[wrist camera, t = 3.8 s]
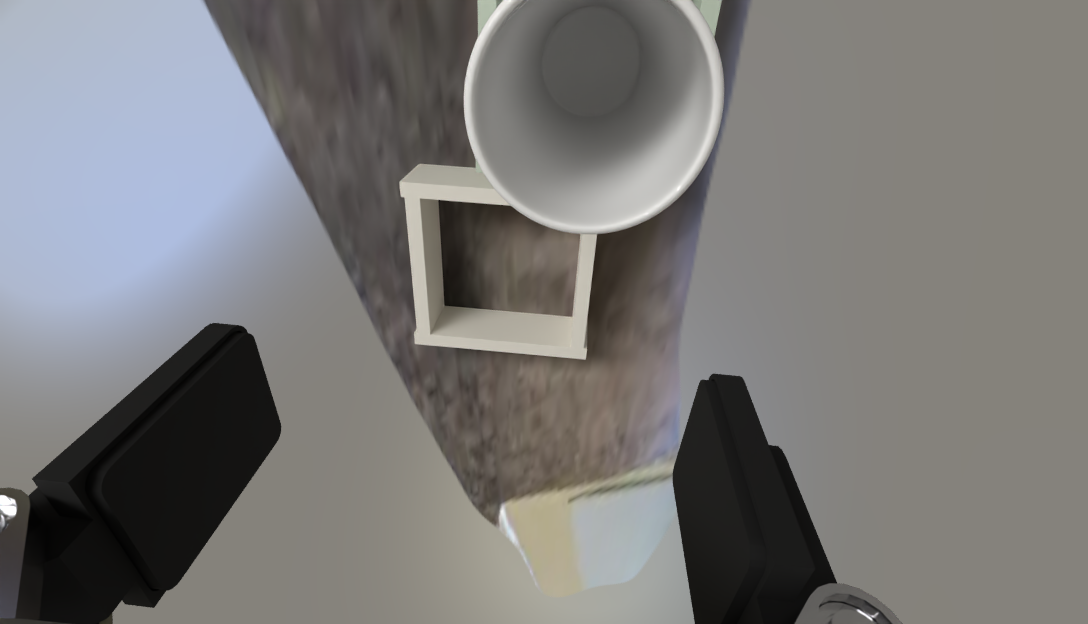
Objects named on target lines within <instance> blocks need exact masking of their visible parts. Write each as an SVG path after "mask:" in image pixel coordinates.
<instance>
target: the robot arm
mask: <svg viewBox="0 0 1088 624" xmlns="http://www.w3.org/2000/svg"><path fill="white" fill-rule="evenodd" d="M280 433H281V423H280V420H279V416H278V413H277V410H276V407H275V403H274V400H273V397H272V394H271V391H270V387H269V384H268V381H267V378H266V374H265V371H264V368H263V365H262V361H261V358H260V355H259V352H258V349H257V345H256V342H255V339H254V337H253V336H252V335H251V334H249V333H248V332H247V330H246V329H245V328H244V327H242V326H239V325H228V324H219V323H212V324H209V325H208V326H206V327H205V328H204V329H203V330H201V331H200V332H199V333H198V334H197V335H196V336H195V337H194V338H192V339H191V340H190V341H189V342H188V343H187V344H185V345H184V346H183V347H182V348H181V349H180V350H179V351H177V352H176V353H175V354H174V355H173V356H172V357H171V358H169V359H168V360H167V361H166V362H165V363H164V364H163V365H161V366H160V367H159V368H158V369H157V370H156V371H155V372H153V373H152V374H151V375H150V376H149V377H148V378H147V379H145V380H144V381H143V382H142V383H141V384H140V385H139V386H137V387H136V388H135V389H134V390H133V391H132V392H131V393H130V394H128V395H127V396H126V397H125V398H124V399H123V400H121V401H120V402H119V403H118V404H117V405H116V406H115V407H113V408H112V409H111V410H110V411H109V412H108V413H107V414H105V415H104V416H103V417H102V418H101V419H100V420H99V421H97V423H95V424H94V425H93V426H92V427H91V428H89V429H88V430H87V431H86V432H85V433H84V434H83V435H81V436H80V437H79V438H78V439H77V440H76V441H75V442H73V443H72V444H71V445H70V446H69V447H68V448H67V449H65V450H64V451H63V452H62V453H61V454H60V455H59V456H57V457H56V458H55V459H54V460H53V461H52V462H51V463H49V464H48V465H47V466H46V467H45V468H44V469H43V470H41V471H40V472H39V473H38V474H37V475H36V476H35V477H33V479H32V480H33V481H34V482H35V484H36V485H37V486H38V488H37V489H36V490H34V491H33V492H32V493H31V494H30V495H29V496H28V495H27V494H26V493H25V492H23V491H22V490H19V489H15V488H0V624H113V618H112V617H113V616H112V612H113V611H114V610H115V608H116V607H117V606H118V604H119V603H120V602H121V600H123V602H124V603H125V604H128V605H136V606H145V607H152V608H154V607H155V606H156V604H157V603H158V601H159V600H160V599H161V597H162V596H163V594H164V593H165V592H166V590H170V589H172V588H173V587H175V586H176V585H177V584H178V583H179V581H180V580H181V579H182V577H183V576H184V574H185V573H186V572H187V570H188V569H189V567H190V566H191V564H192V563H193V561H194V560H195V559H196V557H197V556H198V554H199V553H200V551H201V550H202V549H203V547H204V546H205V544H206V543H207V542H208V540H209V539H210V537H211V536H212V534H213V533H214V531H215V530H216V529H217V527H218V526H219V524H220V523H221V521H222V520H223V518H224V517H225V516H226V514H227V513H228V511H229V510H230V508H231V507H232V506H233V504H234V503H235V501H236V500H237V498H238V497H239V495H240V494H241V493H242V491H243V490H244V488H245V487H246V486H247V484H248V483H249V481H250V480H251V478H252V477H253V476H254V474H255V473H256V471H257V470H258V468H259V467H260V466H261V464H262V462H263V461H264V460H265V458H266V457H267V456H268V454H269V453H270V451H271V450H272V448H273V447H274V445H275V444H276V443H277V441H278V439H279V437H280ZM673 487H674V494H675V500H676V506H677V513H678V519H679V525H680V531H681V538H682V544H683V551H684V557H685V563H686V570H687V576H688V582H689V589H690V595H691V602H692V607H693V614H694V620H695V624H902V622H901V621H900V620H899V619H898V618H897V617H896V615H895V614H894V613H893V612H892V611H891V610H890V609H889V608H887V607H886V606H885V605H884V604H883V603H882V602H880V601H879V600H878V599H877V598H875V597H873V596H872V595H869V594H868V593H866V592H864V591H863V590H861V589H859V588H855V587H852V586H849V585H846V584H837V582H836V579H835V577H834V574H833V572H832V570H831V567H830V564H829V562H828V560H827V557H826V555H825V553H824V550H823V547H822V545H821V542H820V540H819V538H818V535H817V532H816V530H815V527H814V525H813V523H812V520H811V518H810V515H809V513H808V510H807V508H806V505H805V503H804V501H803V498H802V495H801V493H800V491H799V488H798V486H797V483H796V481H795V478H794V476H793V473H792V471H791V469H790V466H789V463H788V461H787V459H786V457H785V455H784V453H783V451H782V450H781V449H780V448H779V447H778V446H772V445H768V442H767V440H766V437H765V435H764V432H763V429H762V426H761V424H760V421H759V419H758V416H757V413H756V411H755V408H754V405H753V403H752V400H751V397H750V395H749V392H748V390H747V387H746V384H745V382H744V380H743V378H742V377H740V376H732V375H721V374H712V375H711V376H710V378H709V380H701V381H700V383H699V386H698V389H697V392H696V396H695V399H694V402H693V406H692V409H691V412H690V416H689V419H688V422H687V425H686V429H685V432H684V435H683V439H682V442H681V445H680V449H679V452H678V455H677V459H676V462H675V465H674V469H673Z"/></svg>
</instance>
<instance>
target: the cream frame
mask: <svg viewBox="0 0 1088 624" xmlns="http://www.w3.org/2000/svg"><path fill="white" fill-rule="evenodd" d="M400 192H401V197H405V206H406V217H407V227H408V238H409V249H410V260H411V270H412V281H413V292H414V303H415V313H416V324H417V329H416V331H415V333H414V337H415V344H422V345H433V346H444V347H455V348H466V349H477V350H487V351H498V352H509V353H520V354H531V355H542V356H553V357H564V358H575V359H585V360H586V353H587V319H588V318H587V316H588V307H589V299H590V290H591V282H592V273H593V264H594V256H595V247H596V238H597V234H581V235H580V245H579V255H578V265H577V276H576V286H575V296H574V306H573V316H572V317H567V316H556V315H544V314H533V313H522V312H510V311H499V310H488V309H476V308H465V307H454V306H444V288H443V271H442V253H441V236H440V219H439V201H438V200H447V201H459V202H472V203H484V204H497V205H509V206H511V205H510V204H508V203H507V202H506V201H505V200H504V199H503V198H502V197H501V196H500V195H499V194H498V192H497V191H496V190H495V189H494V188H493V186H492V185H491V184H490V182H489V181H488V180H487V178H486V177H485V175H484V173H479V172H476V168H469V167H456V166H443V165H430V164H418V165H417V166H416V167H415V168H414V169H413V170H412V171H411V172H410V173H409V174H407V175H406V176H405V177H404V178H403V179H402V180H401V181H400Z"/></svg>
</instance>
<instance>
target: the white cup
mask: <svg viewBox="0 0 1088 624" xmlns="http://www.w3.org/2000/svg"><path fill="white" fill-rule="evenodd" d="M723 107H724V75H723V68H722V62H721V58H720V54H719V49H718V47H717V44H716V41H715V38H714V36H713V33H712V31H711V29H710V27H709V25H708V23H707V21H706V20H705V18H704V17H703V15H702V13H701V12H700V10H699V9H698V8H697V6H696V5H695V4H694V2H693V1H692V0H503V1H502V2H501V3H500V4H499V5H498V7H497V8H496V9H495V10H494V12H493V13H492V14H491V16H490V17H489V19H488V20H487V22H486V24H485V25H484V27H483V28H482V30H481V32H480V34H479V37H478V39H477V41H476V43H475V46H474V48H473V51H472V54H471V57H470V60H469V64H468V68H467V73H466V79H465V87H464V115H465V123H466V129H467V134H468V138H469V141H470V144H471V148H472V150H473V153H474V155H475V158H476V160H477V162H478V164H479V166H480V168H481V170H482V172H483V173H484V175H485V177H486V178H487V180H488V181H489V182H490V184H491V185H492V186H493V188H494V189H495V190H496V191H497V192H498V194H499V195H500V196H501V197H502V198H503V199H504V200H505V201H506V202H507V203H508V204H510V205H511V206H512V207H513V208H514V209H516V210H517V211H518V212H520V213H521V214H523V215H524V216H526V217H528V218H529V219H531V220H533V221H535V222H537V223H539V224H541V225H544V226H546V227H549V228H552V229H555V230H559V231H563V232H568V233H575V234H605V233H611V232H616V231H620V230H624V229H627V228H630V227H633V226H635V225H638V224H640V223H642V222H645V221H647V220H649V219H650V218H652V217H654V216H656V215H657V214H659V213H660V212H662V211H663V210H665V209H666V208H667V207H669V206H670V205H671V204H672V203H673V202H675V201H676V200H677V199H678V198H679V197H680V196H681V195H682V194H683V193H684V192H685V191H686V190H687V189H688V188H689V186H690V185H691V184H692V183H693V181H694V180H695V179H696V177H697V176H698V174H699V173H700V172H701V170H702V168H703V167H704V165H705V163H706V161H707V160H708V158H709V156H710V153H711V151H712V149H713V147H714V144H715V141H716V138H717V135H718V132H719V128H720V124H721V120H722V114H723Z"/></svg>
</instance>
